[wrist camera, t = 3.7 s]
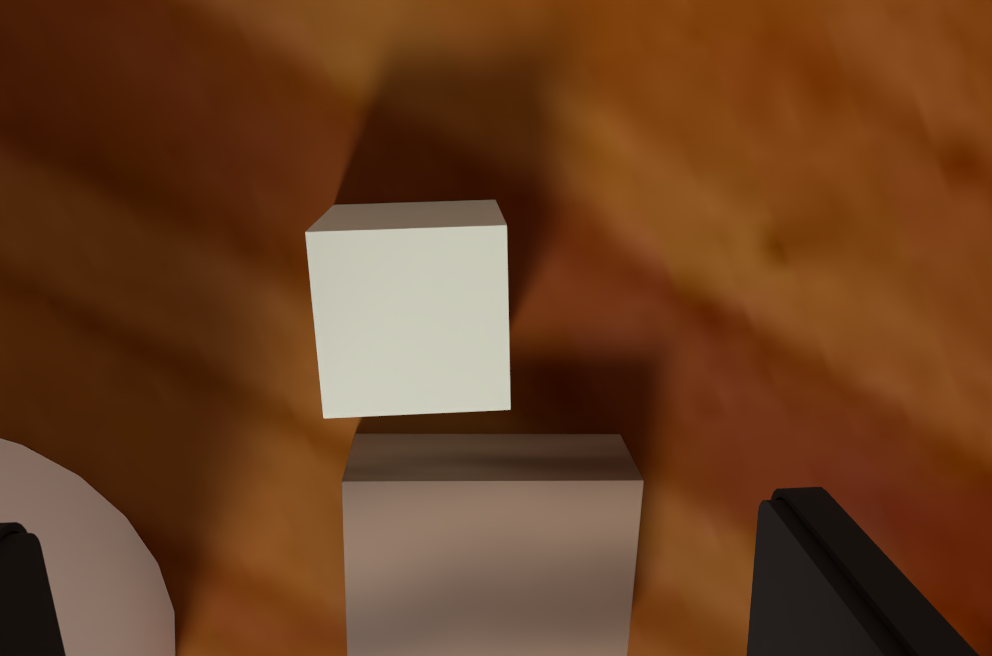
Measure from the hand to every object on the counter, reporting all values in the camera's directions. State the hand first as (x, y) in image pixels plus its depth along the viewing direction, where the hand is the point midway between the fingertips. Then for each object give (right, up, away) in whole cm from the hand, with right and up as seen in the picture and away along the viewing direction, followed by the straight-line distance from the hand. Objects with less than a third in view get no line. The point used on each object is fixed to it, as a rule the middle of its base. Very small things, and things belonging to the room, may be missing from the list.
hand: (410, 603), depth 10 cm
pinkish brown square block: (+1, -5, +21) cm, 21 cm away
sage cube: (-2, +5, +17) cm, 18 cm away
